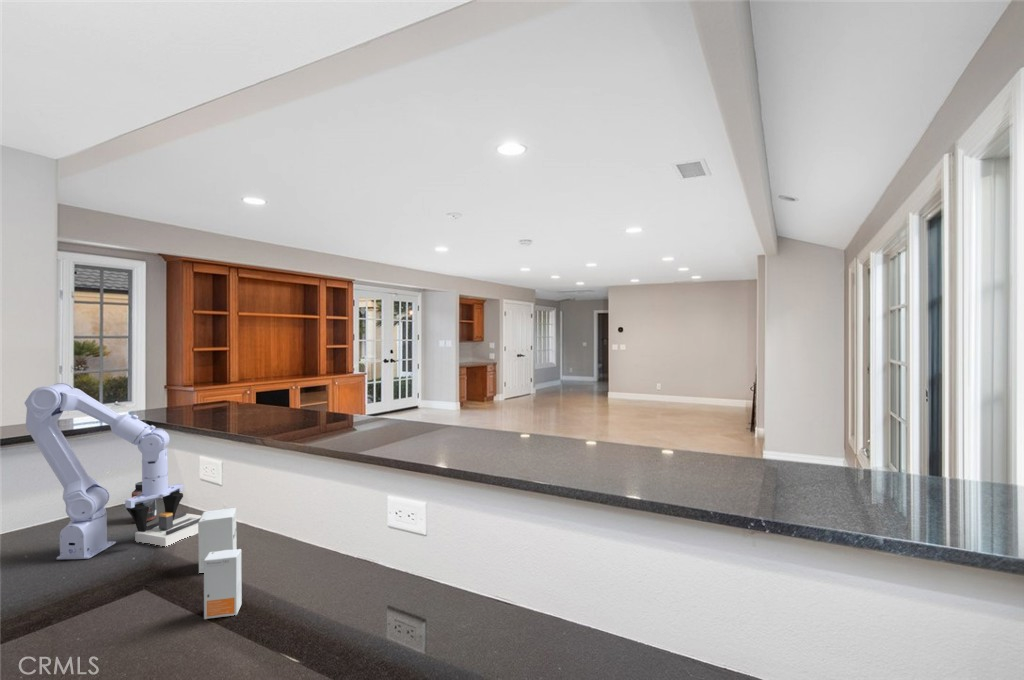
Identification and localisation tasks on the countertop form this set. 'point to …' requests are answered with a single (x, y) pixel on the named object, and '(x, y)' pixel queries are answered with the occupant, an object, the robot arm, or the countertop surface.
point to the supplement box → (216, 533)
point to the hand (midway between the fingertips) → (156, 525)
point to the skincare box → (222, 583)
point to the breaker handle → (166, 520)
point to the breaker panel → (170, 530)
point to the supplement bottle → (150, 504)
